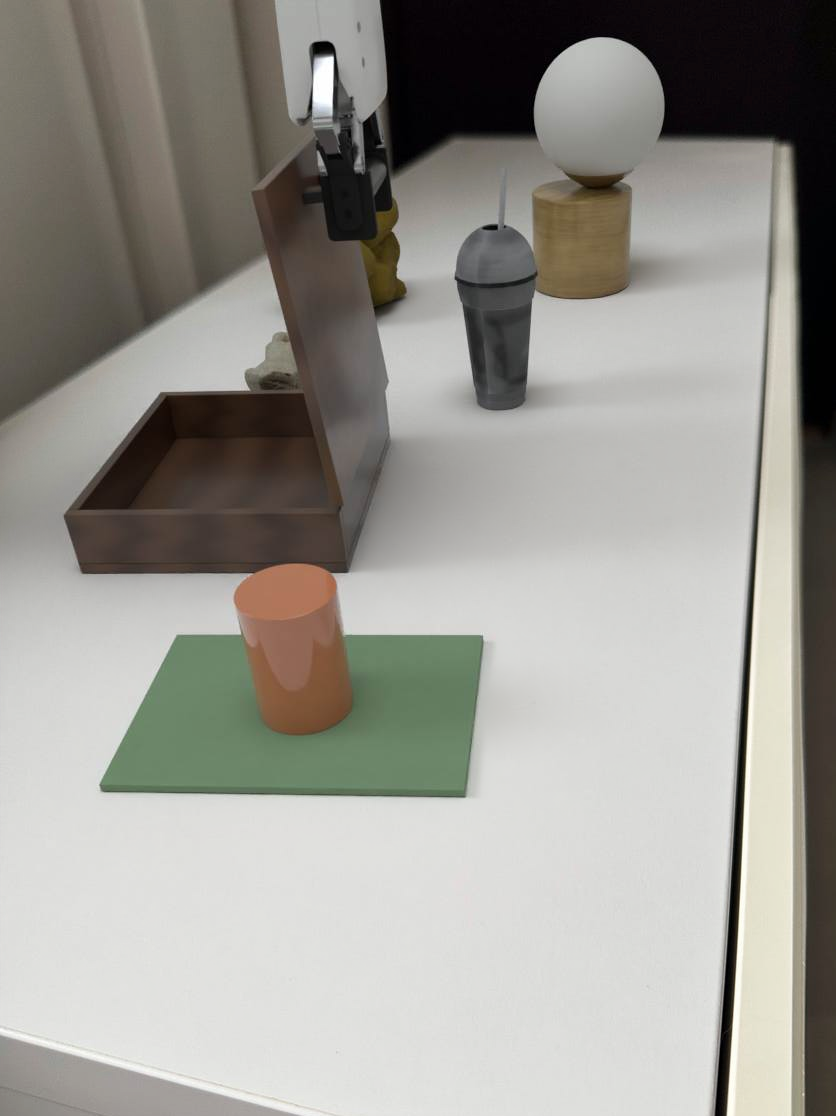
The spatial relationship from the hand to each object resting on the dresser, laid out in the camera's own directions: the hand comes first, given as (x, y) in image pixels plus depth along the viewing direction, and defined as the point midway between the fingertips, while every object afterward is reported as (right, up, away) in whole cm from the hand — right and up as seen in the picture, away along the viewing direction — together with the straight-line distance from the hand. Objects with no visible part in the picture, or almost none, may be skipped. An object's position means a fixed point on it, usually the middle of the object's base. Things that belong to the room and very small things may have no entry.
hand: (362, 222), depth 71 cm
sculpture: (-11, -4, +32) cm, 34 cm away
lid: (-3, -5, +4) cm, 6 cm away
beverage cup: (+10, -6, +27) cm, 29 cm away
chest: (-10, -17, +13) cm, 24 cm away
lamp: (+21, +15, +54) cm, 60 cm away
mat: (-2, -32, -9) cm, 33 cm away
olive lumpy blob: (-8, +10, +51) cm, 52 cm away
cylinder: (-2, -32, -9) cm, 33 cm away
